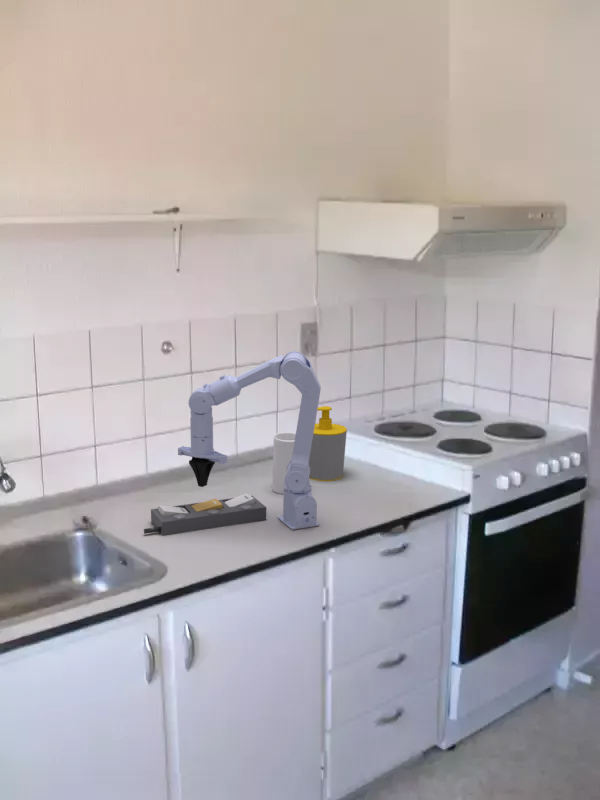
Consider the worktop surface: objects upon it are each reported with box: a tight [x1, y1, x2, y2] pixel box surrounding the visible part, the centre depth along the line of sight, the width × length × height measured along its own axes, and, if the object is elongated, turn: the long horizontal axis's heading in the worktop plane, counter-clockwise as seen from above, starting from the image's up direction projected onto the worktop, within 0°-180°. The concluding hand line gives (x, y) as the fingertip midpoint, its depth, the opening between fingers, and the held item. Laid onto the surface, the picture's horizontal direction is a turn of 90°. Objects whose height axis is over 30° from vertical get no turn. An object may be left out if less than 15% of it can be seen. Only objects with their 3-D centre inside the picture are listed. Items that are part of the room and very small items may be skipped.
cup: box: [271, 431, 296, 495], centre depth 256 cm, size 8×8×16 cm
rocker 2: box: [224, 492, 255, 507], centre depth 237 cm, size 5×7×2 cm
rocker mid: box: [191, 498, 223, 512], centre depth 233 cm, size 5×7×2 cm
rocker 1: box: [157, 504, 189, 516], centre depth 230 cm, size 5×7×2 cm
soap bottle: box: [309, 405, 348, 482], centre depth 269 cm, size 13×13×21 cm
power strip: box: [143, 495, 267, 536], centre depth 231 cm, size 10×32×4 cm, turn 115°
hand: (202, 485), depth 232 cm, fingers closed
